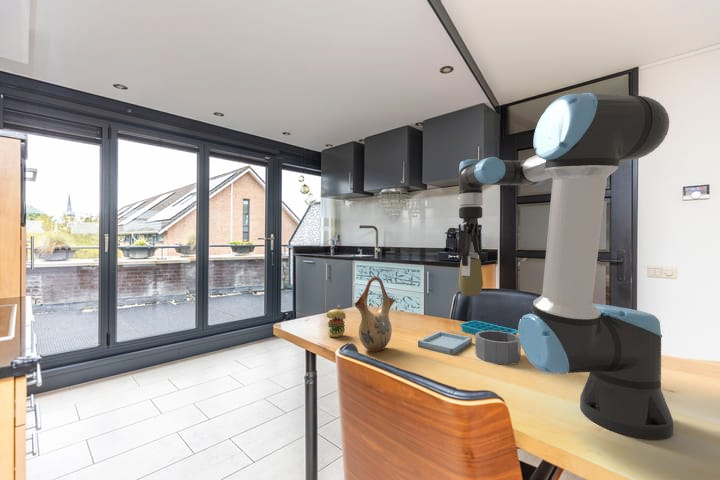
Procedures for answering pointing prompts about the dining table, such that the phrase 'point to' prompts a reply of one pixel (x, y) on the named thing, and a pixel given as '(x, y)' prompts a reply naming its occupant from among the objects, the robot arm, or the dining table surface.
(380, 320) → the ceramic vessel
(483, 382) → the dining table surface
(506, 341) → the grey faceted ring
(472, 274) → the squeeze bottle
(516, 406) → the dining table surface
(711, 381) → the dining table surface
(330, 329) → the hamburger
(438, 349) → the tray
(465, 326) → the ice cube tray
